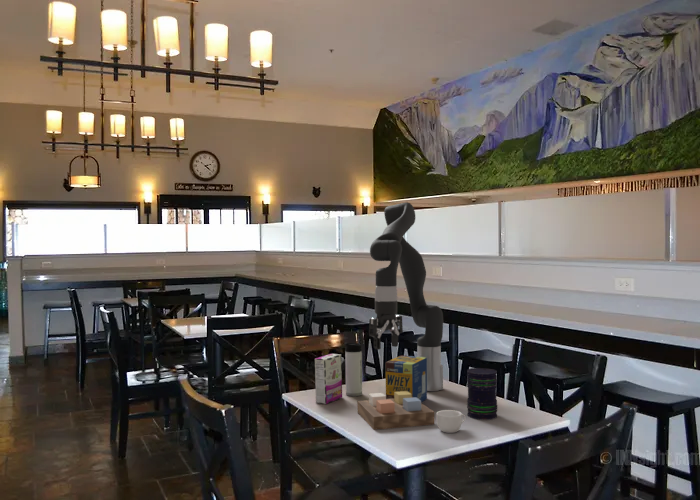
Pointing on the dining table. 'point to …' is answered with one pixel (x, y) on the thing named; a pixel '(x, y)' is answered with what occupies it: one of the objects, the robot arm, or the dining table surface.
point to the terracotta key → (385, 406)
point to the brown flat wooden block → (395, 416)
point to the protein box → (407, 376)
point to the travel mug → (353, 369)
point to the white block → (376, 398)
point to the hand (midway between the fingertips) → (386, 347)
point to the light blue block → (411, 404)
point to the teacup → (449, 420)
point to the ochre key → (401, 396)
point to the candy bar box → (328, 378)
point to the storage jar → (482, 393)
